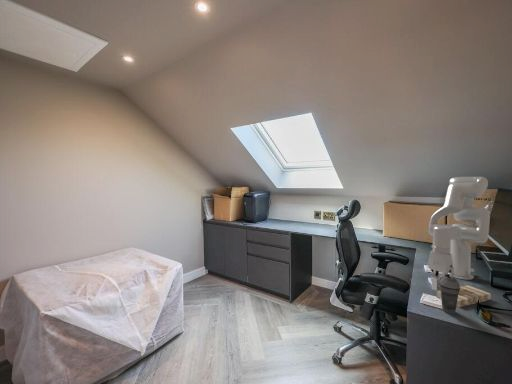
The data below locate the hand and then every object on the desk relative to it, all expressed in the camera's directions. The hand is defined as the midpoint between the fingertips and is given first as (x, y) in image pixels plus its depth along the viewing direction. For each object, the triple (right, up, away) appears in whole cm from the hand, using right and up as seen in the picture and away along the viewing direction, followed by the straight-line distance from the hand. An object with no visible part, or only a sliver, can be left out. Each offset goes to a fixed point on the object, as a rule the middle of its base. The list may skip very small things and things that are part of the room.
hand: (440, 283), depth 128 cm
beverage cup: (-13, -4, -22) cm, 26 cm away
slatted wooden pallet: (+3, -4, -10) cm, 11 cm away
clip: (0, -3, 0) cm, 3 cm away
